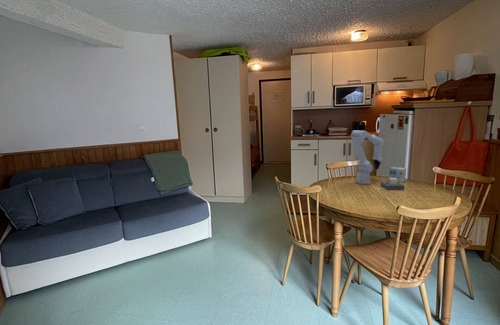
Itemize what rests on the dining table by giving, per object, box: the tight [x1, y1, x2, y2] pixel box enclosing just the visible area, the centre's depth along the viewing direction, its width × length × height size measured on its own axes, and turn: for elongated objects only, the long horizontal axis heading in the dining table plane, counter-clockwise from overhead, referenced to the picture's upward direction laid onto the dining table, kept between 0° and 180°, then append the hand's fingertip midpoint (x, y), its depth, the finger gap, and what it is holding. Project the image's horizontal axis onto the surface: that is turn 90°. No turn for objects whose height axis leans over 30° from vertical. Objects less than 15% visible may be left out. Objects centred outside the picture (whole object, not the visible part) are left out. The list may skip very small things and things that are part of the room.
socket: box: [380, 181, 405, 191], centre depth 201 cm, size 12×11×3 cm
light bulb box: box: [388, 166, 407, 183], centre depth 220 cm, size 11×7×11 cm, turn 43°
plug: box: [386, 177, 397, 185], centre depth 201 cm, size 6×4×6 cm, turn 86°
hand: (376, 169), depth 222 cm, fingers closed
